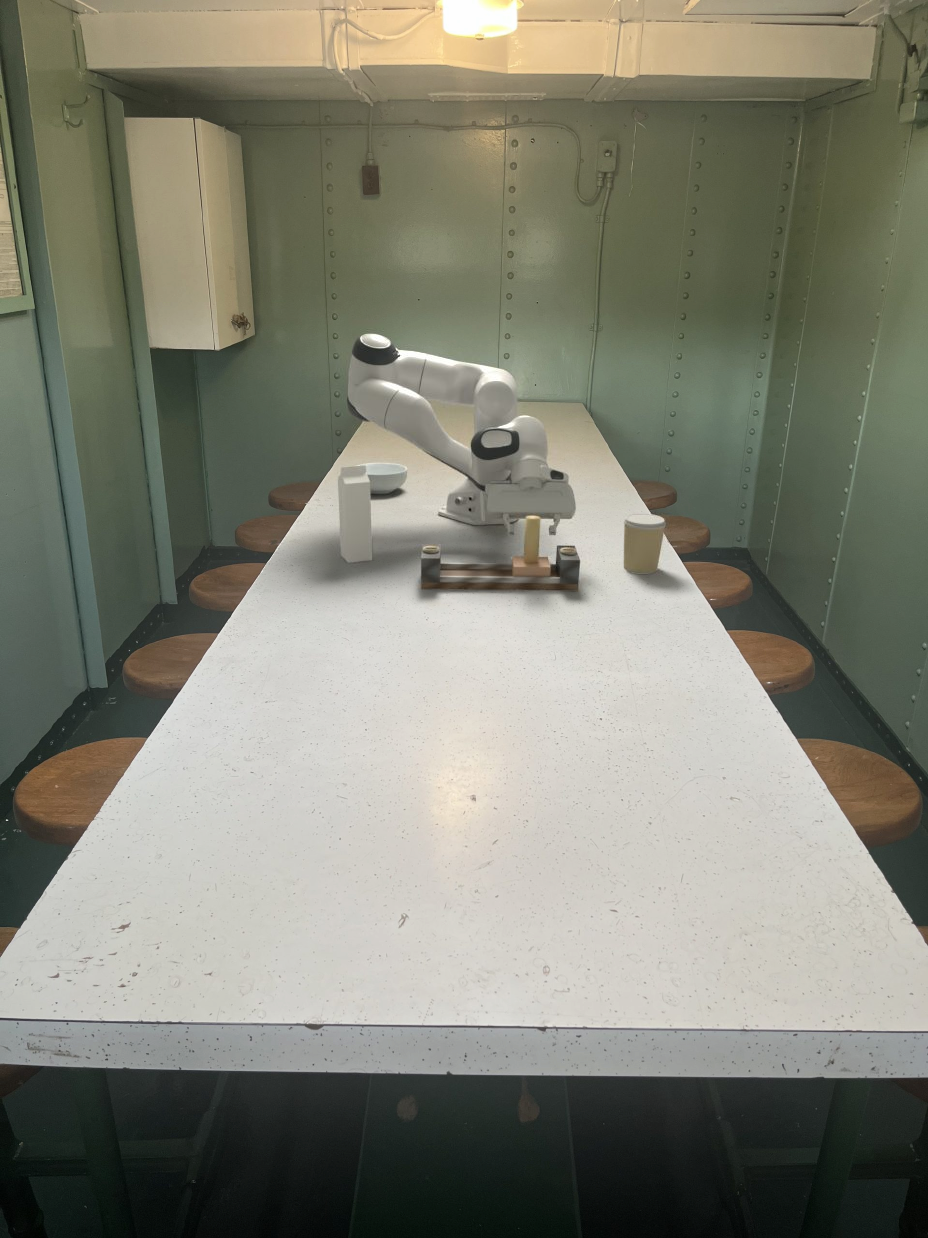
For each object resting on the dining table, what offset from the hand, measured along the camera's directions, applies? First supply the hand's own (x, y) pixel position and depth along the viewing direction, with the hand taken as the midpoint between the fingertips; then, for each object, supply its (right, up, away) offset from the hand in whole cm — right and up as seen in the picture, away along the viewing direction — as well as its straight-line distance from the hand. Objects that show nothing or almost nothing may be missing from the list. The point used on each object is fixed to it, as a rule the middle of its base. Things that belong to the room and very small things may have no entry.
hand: (531, 533), depth 197 cm
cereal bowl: (-41, +20, +69) cm, 82 cm away
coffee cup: (+26, -8, +7) cm, 28 cm away
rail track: (-8, -11, -3) cm, 14 cm away
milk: (-41, -5, +11) cm, 42 cm away
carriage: (-1, -9, -4) cm, 10 cm away
